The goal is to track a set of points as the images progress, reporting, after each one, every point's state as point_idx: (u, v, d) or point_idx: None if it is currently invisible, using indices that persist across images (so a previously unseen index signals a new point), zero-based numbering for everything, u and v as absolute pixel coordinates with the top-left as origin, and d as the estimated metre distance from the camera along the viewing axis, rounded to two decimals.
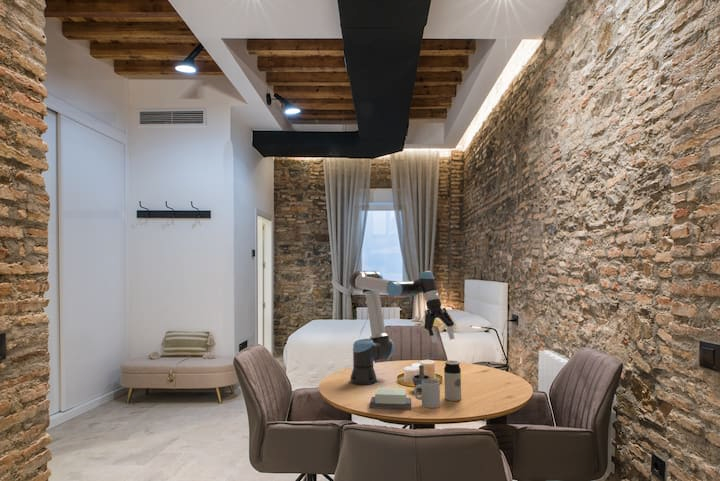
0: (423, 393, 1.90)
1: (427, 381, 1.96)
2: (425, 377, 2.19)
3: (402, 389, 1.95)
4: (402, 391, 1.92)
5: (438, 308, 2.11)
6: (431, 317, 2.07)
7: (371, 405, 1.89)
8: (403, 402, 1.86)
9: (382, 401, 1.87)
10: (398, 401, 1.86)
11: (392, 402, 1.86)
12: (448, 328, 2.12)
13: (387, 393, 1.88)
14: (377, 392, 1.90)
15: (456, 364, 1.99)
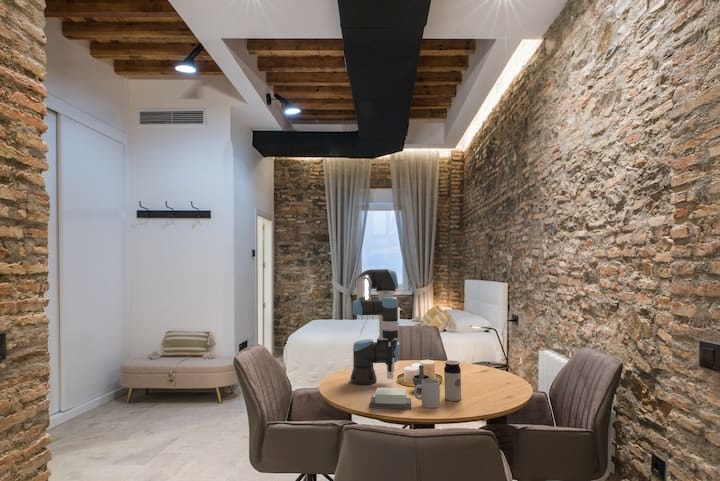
0: (423, 393, 1.90)
1: (427, 381, 1.96)
2: (425, 377, 2.19)
3: (402, 389, 1.95)
4: (402, 391, 1.92)
5: None
6: None
7: (371, 405, 1.89)
8: (403, 402, 1.86)
9: (382, 401, 1.87)
10: (398, 401, 1.86)
11: (392, 402, 1.86)
12: None
13: (387, 393, 1.88)
14: (377, 392, 1.90)
15: (456, 364, 1.99)
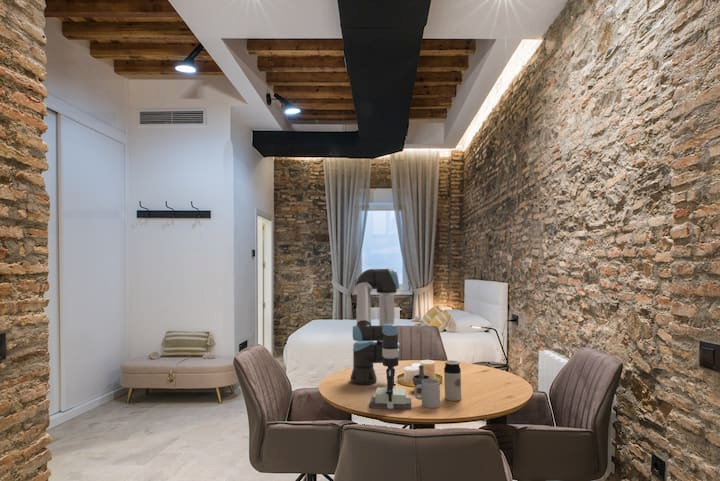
0: (423, 393, 1.90)
1: (427, 381, 1.96)
2: (425, 377, 2.19)
3: (402, 389, 1.95)
4: (402, 391, 1.92)
5: None
6: None
7: (371, 405, 1.89)
8: (403, 402, 1.86)
9: (382, 401, 1.87)
10: (398, 401, 1.86)
11: None
12: None
13: None
14: (377, 392, 1.90)
15: (456, 364, 1.99)
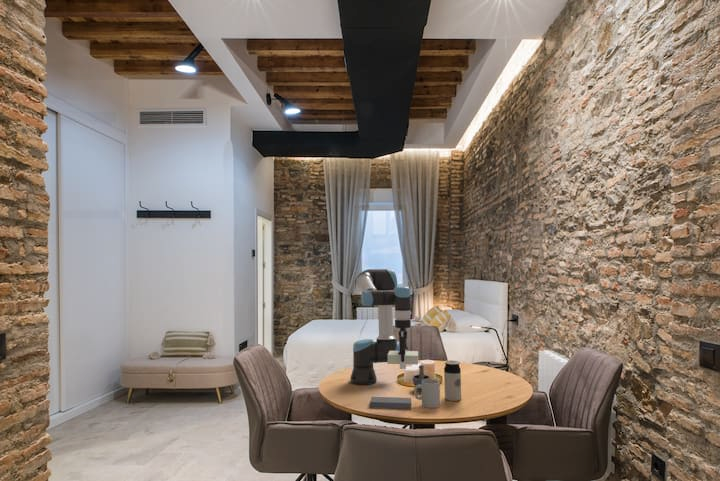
0: (423, 393, 1.90)
1: (427, 381, 1.96)
2: (425, 377, 2.19)
3: (414, 351, 1.96)
4: (414, 353, 1.93)
5: (405, 328, 1.95)
6: None
7: (371, 405, 1.89)
8: (415, 362, 1.86)
9: (394, 362, 1.88)
10: (410, 361, 1.87)
11: None
12: None
13: None
14: (389, 353, 1.91)
15: (456, 364, 1.99)
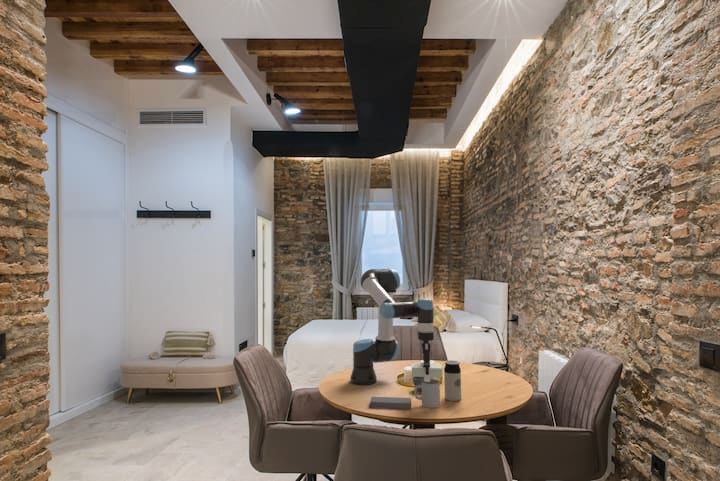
0: (423, 393, 1.90)
1: None
2: None
3: (437, 364, 1.95)
4: (438, 365, 1.93)
5: None
6: None
7: (371, 405, 1.89)
8: (440, 375, 1.86)
9: (419, 374, 1.88)
10: (435, 374, 1.87)
11: None
12: None
13: None
14: (413, 366, 1.91)
15: (456, 364, 1.99)
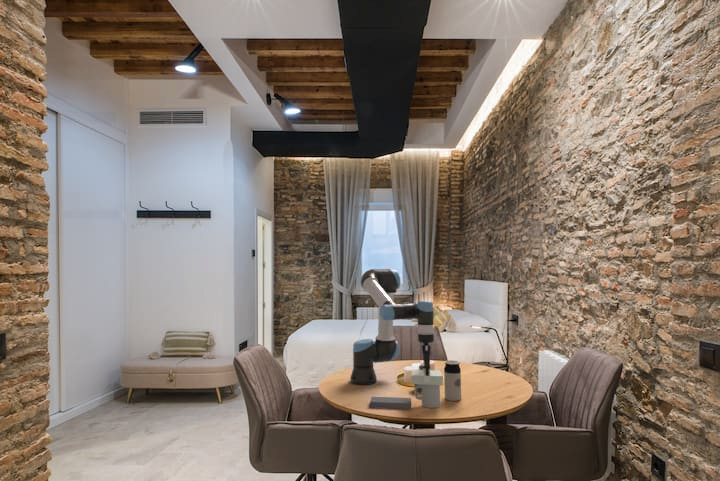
0: (423, 393, 1.90)
1: None
2: None
3: (437, 371, 1.95)
4: (438, 372, 1.93)
5: None
6: None
7: (371, 405, 1.89)
8: (440, 383, 1.86)
9: (419, 382, 1.87)
10: (435, 382, 1.86)
11: (429, 383, 1.87)
12: None
13: None
14: (413, 373, 1.91)
15: (456, 364, 1.99)
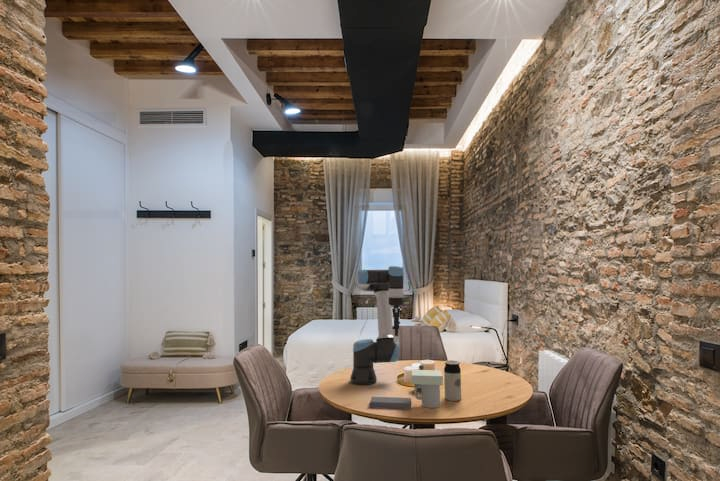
0: (423, 393, 1.90)
1: None
2: None
3: (437, 371, 1.95)
4: (438, 372, 1.93)
5: None
6: None
7: (371, 405, 1.89)
8: (440, 383, 1.86)
9: (419, 382, 1.87)
10: (435, 382, 1.86)
11: (429, 383, 1.87)
12: None
13: (424, 375, 1.88)
14: (413, 373, 1.91)
15: (456, 364, 1.99)
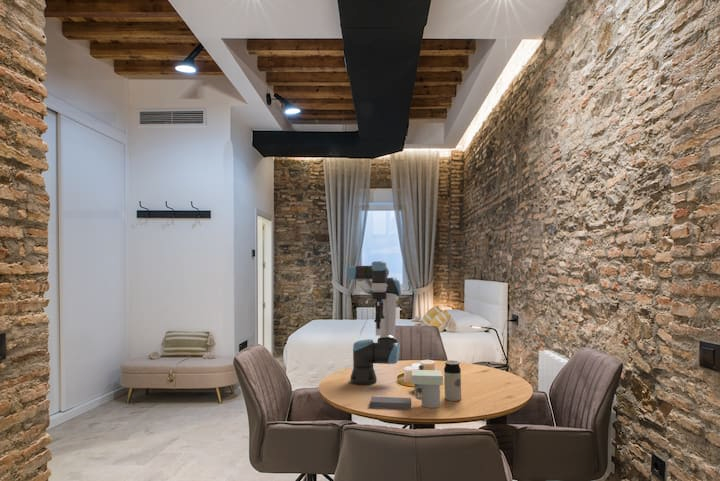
0: (423, 393, 1.90)
1: None
2: None
3: (437, 371, 1.95)
4: (438, 372, 1.93)
5: (381, 300, 2.09)
6: None
7: (371, 405, 1.89)
8: (440, 383, 1.86)
9: (419, 382, 1.87)
10: (435, 382, 1.86)
11: (429, 383, 1.87)
12: None
13: (424, 375, 1.88)
14: (413, 373, 1.91)
15: (456, 364, 1.99)
